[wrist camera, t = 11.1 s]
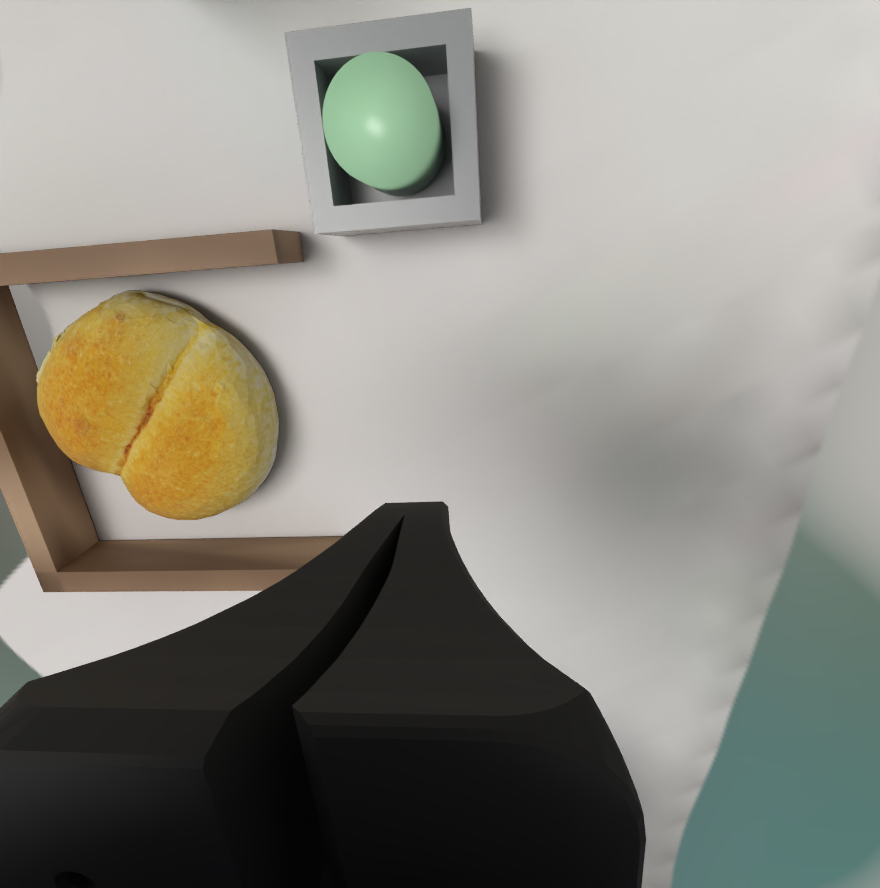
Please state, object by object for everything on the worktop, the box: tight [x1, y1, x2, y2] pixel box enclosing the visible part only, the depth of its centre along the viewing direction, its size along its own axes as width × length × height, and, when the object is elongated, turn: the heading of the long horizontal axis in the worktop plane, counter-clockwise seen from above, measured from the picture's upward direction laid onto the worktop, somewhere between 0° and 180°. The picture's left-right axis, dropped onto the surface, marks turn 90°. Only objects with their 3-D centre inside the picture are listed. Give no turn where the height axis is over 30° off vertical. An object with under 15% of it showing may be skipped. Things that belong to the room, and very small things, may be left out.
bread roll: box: [36, 290, 279, 520], centre depth 20 cm, size 8×9×4 cm
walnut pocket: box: [0, 230, 343, 592], centre depth 20 cm, size 14×13×2 cm
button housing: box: [284, 8, 482, 236], centre depth 16 cm, size 5×5×3 cm
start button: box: [322, 52, 445, 196], centre depth 15 cm, size 3×3×3 cm
